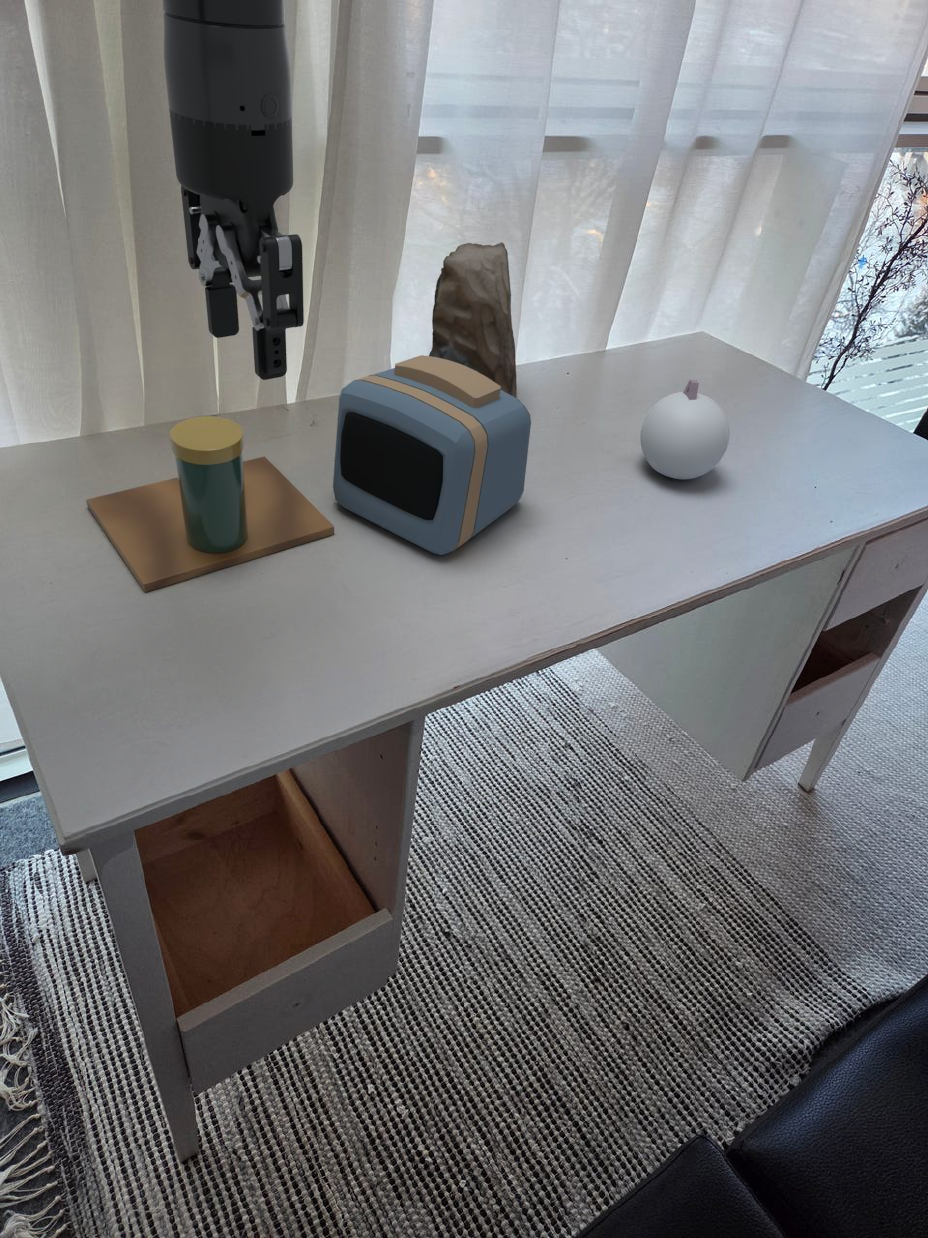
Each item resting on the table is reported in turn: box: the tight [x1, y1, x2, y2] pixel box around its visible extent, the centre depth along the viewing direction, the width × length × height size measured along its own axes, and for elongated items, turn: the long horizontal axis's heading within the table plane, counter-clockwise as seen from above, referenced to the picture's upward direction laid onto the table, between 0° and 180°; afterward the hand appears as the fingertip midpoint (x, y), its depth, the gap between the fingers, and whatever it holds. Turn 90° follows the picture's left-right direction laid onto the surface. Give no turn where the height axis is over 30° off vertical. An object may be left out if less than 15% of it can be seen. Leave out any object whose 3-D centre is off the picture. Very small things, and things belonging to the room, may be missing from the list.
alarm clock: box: [332, 354, 532, 556], centre depth 89 cm, size 16×16×16 cm
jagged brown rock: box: [428, 241, 518, 399], centre depth 107 cm, size 13×13×20 cm
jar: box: [169, 415, 248, 554], centre depth 80 cm, size 6×6×12 cm
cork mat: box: [85, 456, 335, 593], centre depth 87 cm, size 20×16×1 cm
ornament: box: [639, 379, 731, 480], centre depth 102 cm, size 10×10×12 cm
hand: (247, 354), depth 63 cm, fingers open, 7 cm apart
